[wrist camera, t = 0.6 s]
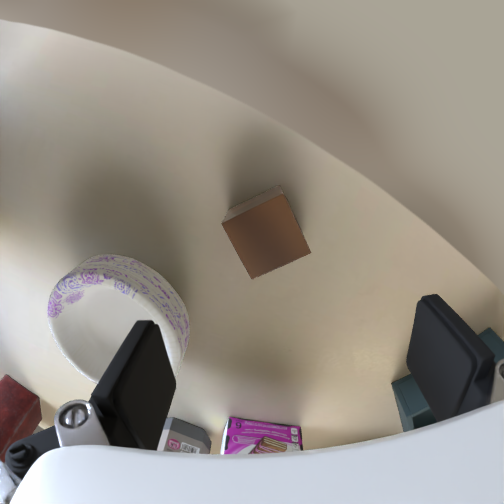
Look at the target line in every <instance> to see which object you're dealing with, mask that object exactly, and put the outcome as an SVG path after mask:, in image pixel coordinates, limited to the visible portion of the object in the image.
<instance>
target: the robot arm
mask: <svg viewBox="0 0 504 504" xmlns="http://www.w3.org/2000/svg"><path fill="white" fill-rule="evenodd" d="M494 358H495V354H494V353H493V352H492V351H491V350H490V348H489V347H488V346H487V345H486V344H485V343H484V342H483V341H482V340H481V339H480V337H479V336H478V335H477V334H476V333H475V332H474V331H473V330H472V329H471V328H470V327H469V326H468V325H467V324H466V323H465V322H464V320H463V319H462V318H461V317H460V316H459V315H458V314H457V313H456V312H455V311H454V310H453V309H452V308H451V307H450V306H449V305H448V304H447V303H446V302H445V301H444V300H443V299H442V298H441V297H440V296H439V295H437V294H432V295H426V296H423V297H422V298H421V300H420V301H418V303H417V307H416V313H415V319H414V324H413V329H412V335H411V340H410V344H409V349H408V353H407V358H406V363H407V367H408V369H409V371H410V372H411V374H412V376H413V378H414V379H415V381H416V383H417V385H418V387H419V389H420V390H421V392H422V394H423V396H424V398H425V400H426V401H427V403H428V405H429V407H430V409H431V411H432V413H433V415H434V417H435V419H436V421H437V423H434V424H431V425H428V426H424V427H421V428H418V429H414V430H410V431H407V432H403V433H399V434H395V435H391V436H387V437H382V438H378V439H373V440H368V441H363V442H358V443H353V444H347V445H341V446H334V447H328V448H320V449H312V450H303V451H293V452H280V453H264V454H196V453H179V452H165V451H157V448H158V445H159V441H160V438H161V435H162V431H163V428H164V425H165V422H166V418H167V415H168V412H169V408H170V405H171V402H172V399H173V396H174V392H175V389H176V379H175V376H174V373H173V370H172V367H171V364H170V360H169V357H168V354H167V351H166V347H165V344H164V341H163V337H162V334H161V330H160V327H159V325H158V324H155V323H154V321H153V320H137V321H136V322H135V324H134V325H133V327H132V329H131V330H130V332H129V333H128V335H127V336H126V338H125V340H124V341H123V343H122V344H121V346H120V348H119V349H118V351H117V352H116V354H115V356H114V357H113V359H112V361H111V362H110V364H109V366H108V367H107V369H106V371H105V372H104V374H103V376H102V377H101V379H100V381H99V382H98V384H97V386H96V387H95V389H94V391H93V392H92V394H91V398H90V400H89V402H88V401H85V400H73V401H69V402H67V403H65V404H64V405H62V406H61V407H60V408H59V409H58V410H57V412H56V414H55V417H54V423H55V425H54V426H52V427H50V428H47V429H45V430H43V431H40V432H38V433H36V434H33V435H30V436H28V437H25V438H23V439H20V440H18V441H16V442H14V443H13V444H11V445H10V446H9V448H8V449H7V451H6V454H5V462H4V463H3V462H2V461H1V460H0V504H504V359H502V360H500V361H498V363H497V364H496V363H495V362H494Z"/></svg>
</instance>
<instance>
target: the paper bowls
mask: <svg viewBox="0 0 504 504" xmlns="http://www.w3.org/2000/svg"><path fill="white" fill-rule="evenodd" d="M137 320H153V321H154V323H155V324H158V325H159V327H160V330H161V334H162V337H163V341H164V344H165V347H166V351H167V354H168V357H169V360H170V364H171V367H172V370H173V373H174V376H175V378H176V376H177V374H178V372H179V370H180V367H181V364H182V361H183V358H184V355H185V352H186V349H187V346H188V342H189V336H190V324H189V317H188V314H187V310H186V307H185V305H184V303H183V301H182V300H181V298H180V296H179V295H178V294H177V292H176V291H175V290H174V288H173V287H172V286H171V285H170V284H169V283H168V282H167V281H166V280H165V278H164V277H162V276H161V275H160V274H159V273H158V272H156V271H155V270H153V269H152V268H150V267H148V266H147V265H145V264H143V263H141V262H139V261H137V260H135V259H133V258H130V257H125V256H121V255H114V254H108V255H99V256H95V257H92V258H89V259H88V260H86V261H84V262H82V263H81V264H80V265H79V266H77V267H76V268H75V269H73V270H72V271H71V272H70V273H68V274H67V275H66V276H64V277H63V278H62V279H61V280H60V281H59V282H58V283H57V284H56V286H55V287H54V289H53V291H52V292H51V295H50V298H49V302H48V322H49V326H50V330H51V333H52V335H53V338H54V340H55V342H56V344H57V346H58V348H59V349H60V351H61V352H62V354H63V355H64V356H65V358H66V359H67V360H68V361H69V362H70V364H71V365H72V366H73V367H74V368H76V369H77V370H78V371H79V372H80V373H81V374H83V375H84V376H85V377H87V378H88V379H89V380H91V381H93V382H94V383H96V384H98V382H99V381H100V379H101V377H102V376H103V374H104V372H105V371H106V369H107V367H108V366H109V364H110V362H111V361H112V359H113V357H114V356H115V354H116V352H117V351H118V349H119V348H120V346H121V344H122V343H123V341H124V340H125V338H126V336H127V335H128V333H129V332H130V330H131V329H132V327H133V325H134V324H135V322H136V321H137Z"/></svg>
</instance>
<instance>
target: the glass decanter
mask: <svg viewBox="0 0 504 504" xmlns="http://www.w3.org/2000/svg"><path fill="white" fill-rule="evenodd" d="M41 420H42V416H41V408H40V400H39V397H38V396H36V395H35V394H33V393H32V392H30V391H29V390H27V389H26V388H25V387H23V386H22V385H20V384H19V383H17V382H16V381H15V380H13V379H12V378H11V377H9V376H8V375H5V376H4V377H3V379H2V380H1V381H0V460H1V461H2V462H3V463H4V462H5V454H6V451H7V449H8V448H9V446H10V445H11V444H13V443H14V442H16V441H18V440H20V439H23V438H25V437H28V436H30V435H32V434H33V432H34V430H35V429H36V427H37V426H38V424H39V423H40V421H41Z"/></svg>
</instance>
